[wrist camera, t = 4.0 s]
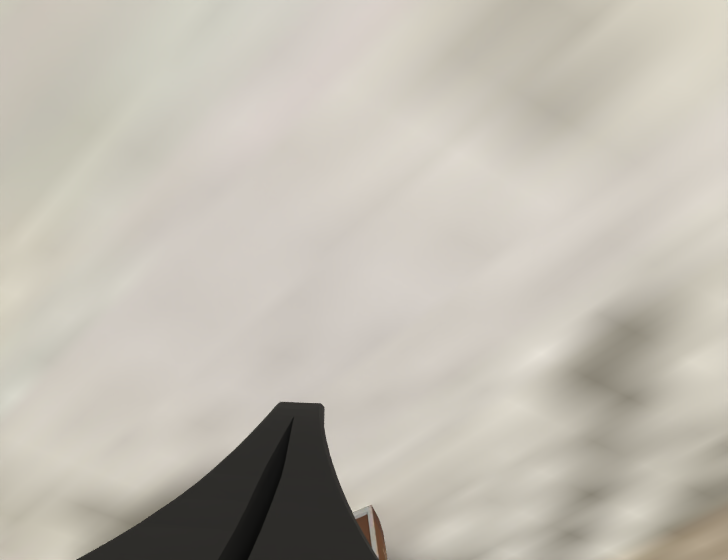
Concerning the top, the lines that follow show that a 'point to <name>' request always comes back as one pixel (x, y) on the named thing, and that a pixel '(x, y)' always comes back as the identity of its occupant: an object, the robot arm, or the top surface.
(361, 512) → the food container
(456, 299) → the top surface
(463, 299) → the top surface
